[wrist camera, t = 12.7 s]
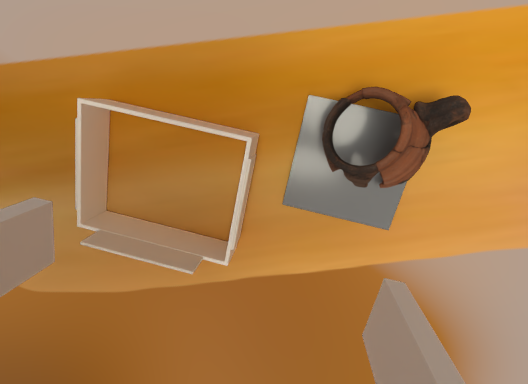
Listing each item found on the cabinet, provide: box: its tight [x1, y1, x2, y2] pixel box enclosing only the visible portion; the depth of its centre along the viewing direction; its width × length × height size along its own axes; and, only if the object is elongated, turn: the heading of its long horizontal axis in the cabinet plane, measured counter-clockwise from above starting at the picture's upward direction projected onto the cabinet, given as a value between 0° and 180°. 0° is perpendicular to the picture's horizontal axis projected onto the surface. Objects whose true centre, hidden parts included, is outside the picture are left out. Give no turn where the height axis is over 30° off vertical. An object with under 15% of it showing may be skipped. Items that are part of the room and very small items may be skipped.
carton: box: [75, 98, 259, 274], centre depth 30 cm, size 18×14×7 cm
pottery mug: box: [322, 87, 471, 188], centre depth 26 cm, size 12×9×8 cm
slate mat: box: [283, 95, 407, 230], centre depth 30 cm, size 12×12×1 cm
